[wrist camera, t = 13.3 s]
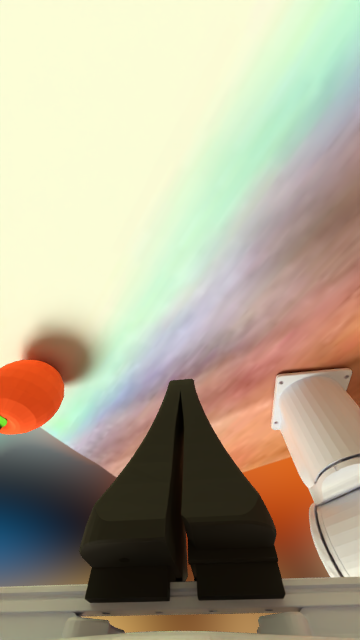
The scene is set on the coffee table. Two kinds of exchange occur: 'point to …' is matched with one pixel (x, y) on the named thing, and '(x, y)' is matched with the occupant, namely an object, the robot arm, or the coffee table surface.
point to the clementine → (28, 395)
